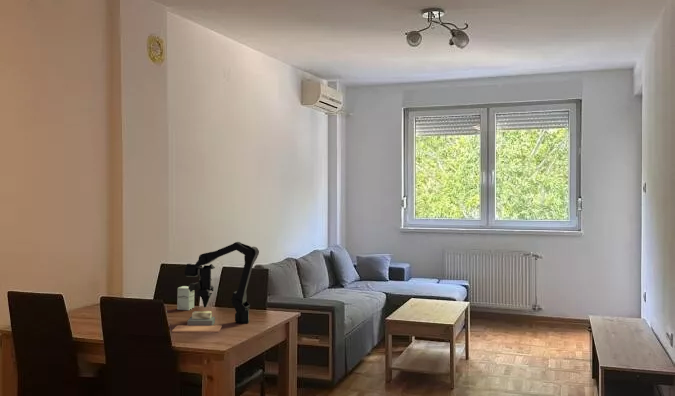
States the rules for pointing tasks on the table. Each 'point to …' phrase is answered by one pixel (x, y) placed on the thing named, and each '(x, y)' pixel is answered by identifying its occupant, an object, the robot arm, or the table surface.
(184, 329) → the mat
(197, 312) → the birch block
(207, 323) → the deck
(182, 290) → the supplement box
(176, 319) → the table surface
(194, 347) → the table surface
